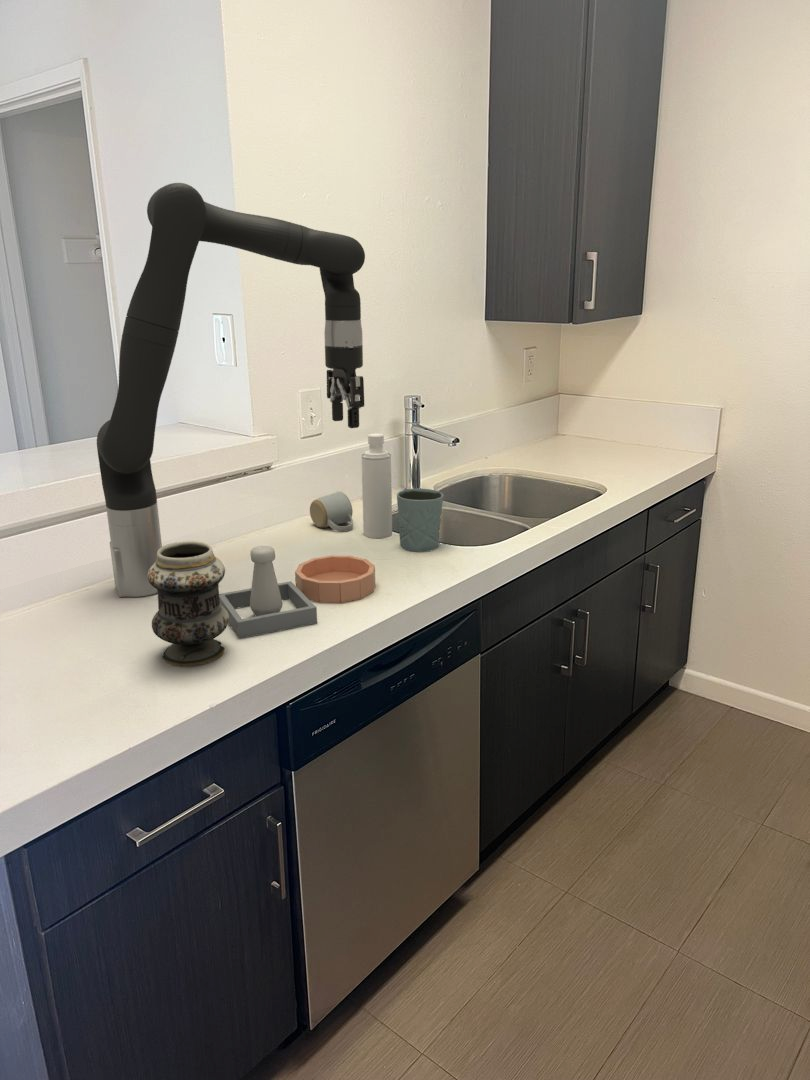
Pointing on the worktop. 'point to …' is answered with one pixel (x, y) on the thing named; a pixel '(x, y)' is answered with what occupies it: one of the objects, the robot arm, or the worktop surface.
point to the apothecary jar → (188, 603)
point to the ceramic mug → (332, 511)
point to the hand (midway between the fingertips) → (345, 424)
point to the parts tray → (269, 622)
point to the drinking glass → (419, 519)
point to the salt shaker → (264, 582)
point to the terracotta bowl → (335, 578)
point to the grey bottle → (376, 489)
